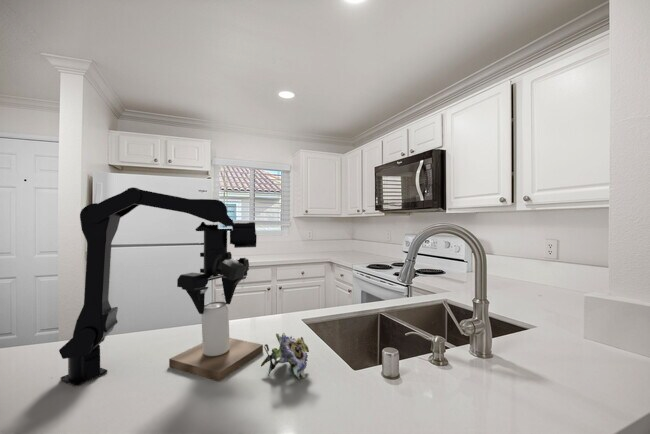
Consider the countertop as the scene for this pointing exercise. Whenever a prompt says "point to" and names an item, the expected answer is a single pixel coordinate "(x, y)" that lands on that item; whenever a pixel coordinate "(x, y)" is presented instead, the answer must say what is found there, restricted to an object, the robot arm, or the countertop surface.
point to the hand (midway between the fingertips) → (215, 308)
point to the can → (215, 329)
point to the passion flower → (289, 355)
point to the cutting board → (216, 360)
